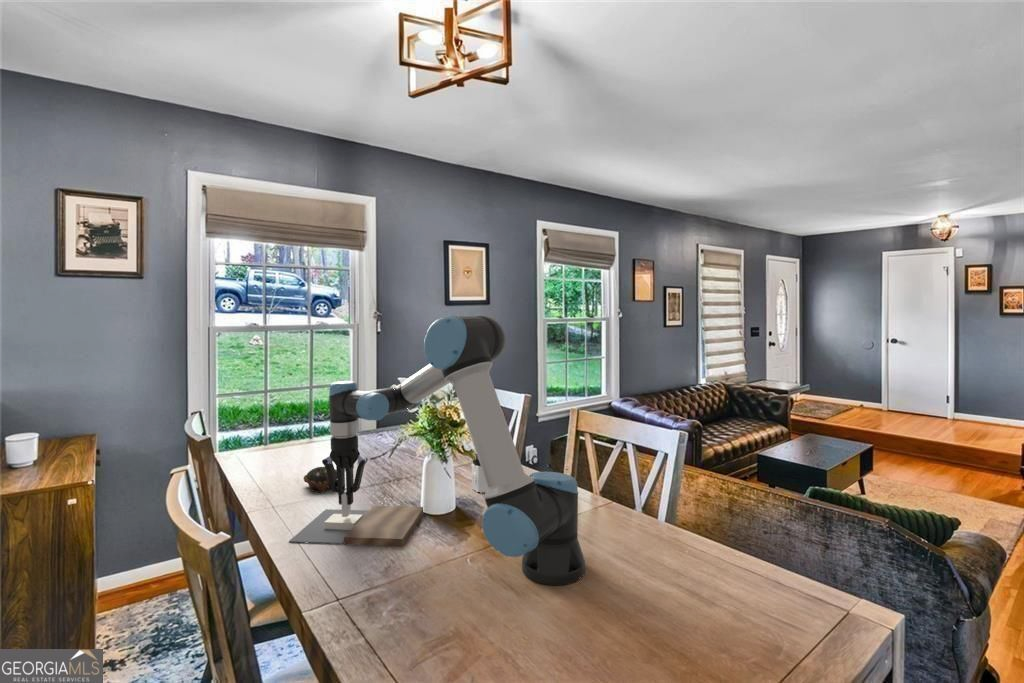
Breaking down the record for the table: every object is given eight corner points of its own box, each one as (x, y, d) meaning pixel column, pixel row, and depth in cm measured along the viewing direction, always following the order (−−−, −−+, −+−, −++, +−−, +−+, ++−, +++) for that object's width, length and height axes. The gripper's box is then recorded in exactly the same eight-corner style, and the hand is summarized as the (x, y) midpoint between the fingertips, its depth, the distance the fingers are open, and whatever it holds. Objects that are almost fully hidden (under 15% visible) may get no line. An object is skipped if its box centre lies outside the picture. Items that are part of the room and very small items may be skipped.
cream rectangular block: (362, 521, 147) (362, 514, 147) (354, 530, 141) (354, 523, 141) (333, 520, 148) (333, 513, 148) (324, 529, 142) (323, 522, 142)
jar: (468, 488, 176) (467, 454, 175) (487, 483, 180) (487, 451, 180) (481, 495, 168) (481, 460, 168) (501, 490, 173) (501, 456, 172)
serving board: (423, 513, 154) (423, 506, 154) (402, 546, 132) (402, 538, 132) (373, 511, 155) (373, 505, 155) (344, 544, 133) (343, 537, 133)
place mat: (372, 511, 155) (372, 510, 155) (342, 544, 133) (342, 542, 133) (325, 510, 156) (325, 509, 156) (288, 542, 134) (288, 541, 134)
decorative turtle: (331, 495, 169) (328, 473, 168) (295, 493, 174) (292, 471, 173) (349, 485, 178) (346, 463, 178) (314, 483, 183) (312, 462, 183)
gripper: (371, 432, 146) (372, 510, 147) (328, 431, 147) (330, 509, 148) (361, 438, 139) (363, 521, 140) (316, 437, 140) (318, 519, 141)
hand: (346, 515), depth 144 cm, fingers closed
